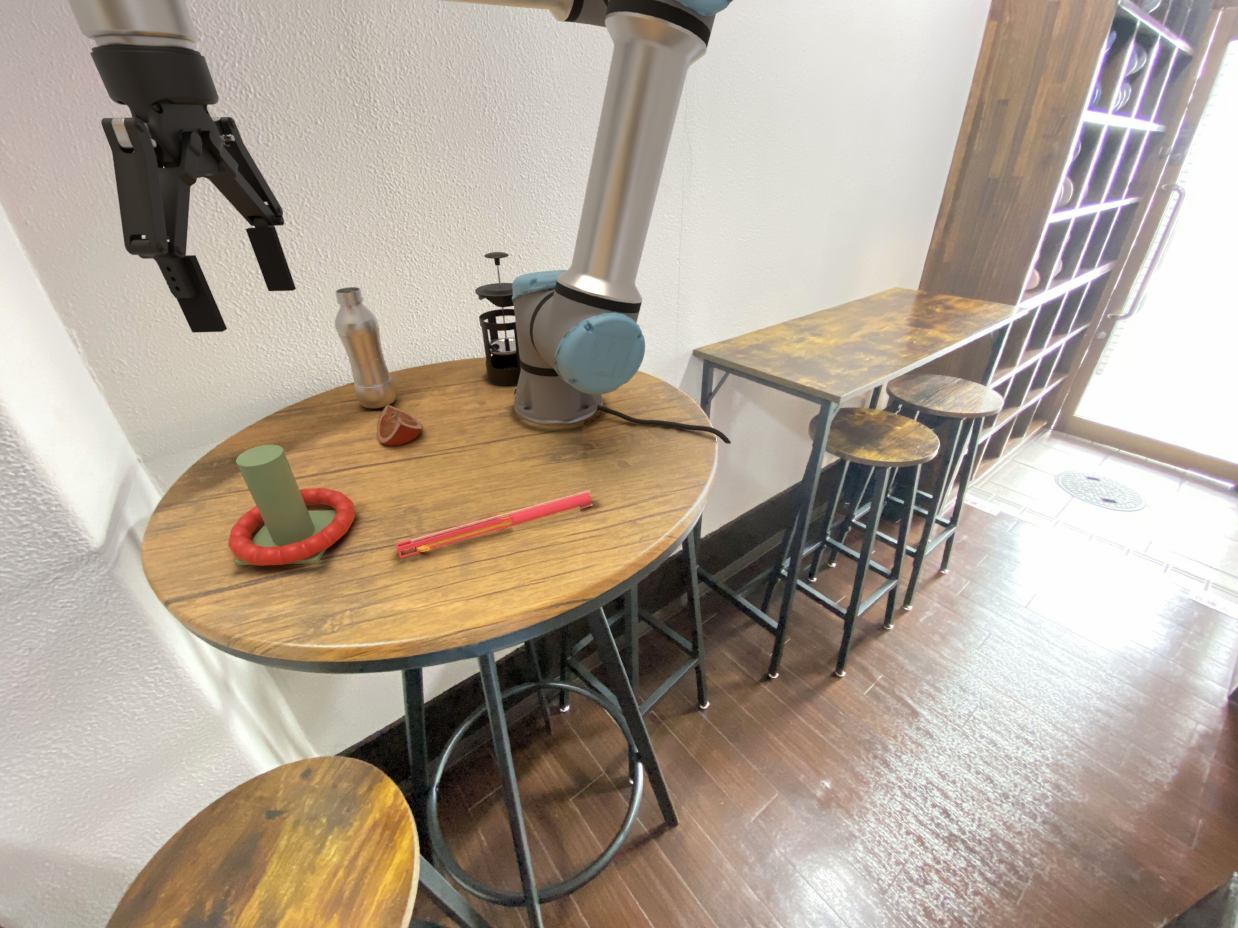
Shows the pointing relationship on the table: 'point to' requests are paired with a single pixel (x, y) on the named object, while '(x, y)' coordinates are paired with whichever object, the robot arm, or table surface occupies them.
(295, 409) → the table surface
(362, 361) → the plastic bottle
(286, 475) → the post
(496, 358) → the french press
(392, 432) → the fruit slice
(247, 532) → the ring
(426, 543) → the red ballpoint pen
